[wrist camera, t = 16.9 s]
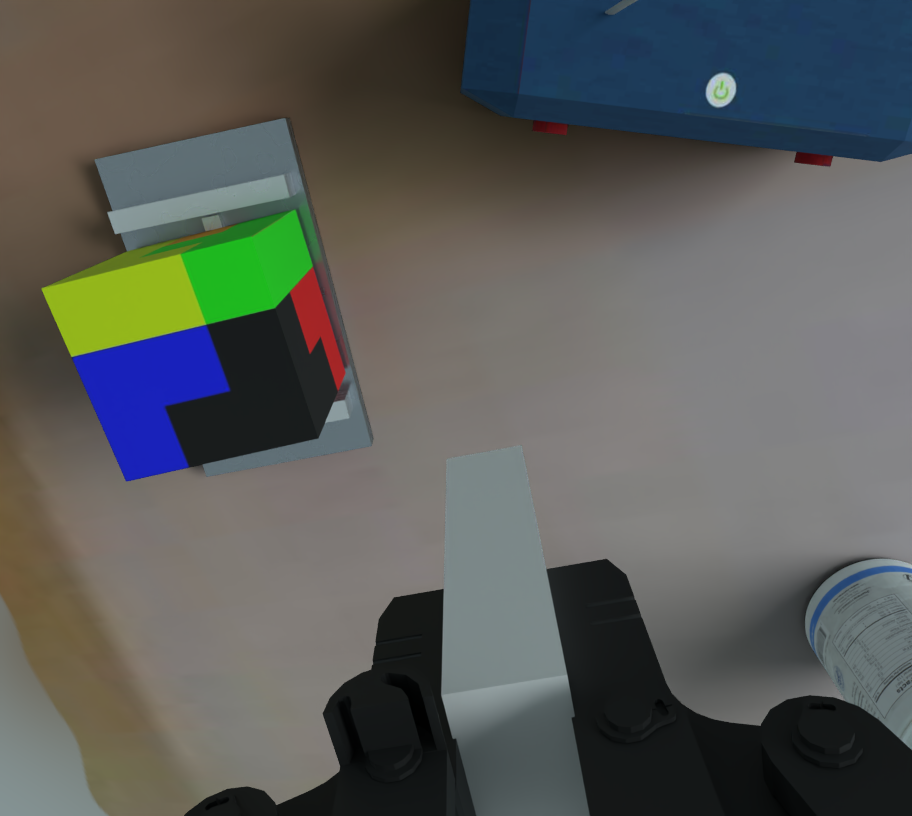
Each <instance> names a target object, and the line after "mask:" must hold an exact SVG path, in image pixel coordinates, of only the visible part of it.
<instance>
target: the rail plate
mask: <svg viewBox="0 0 912 816" xmlns="http://www.w3.org/2000/svg"><path fill="white" fill-rule="evenodd" d="M95 163H96V165H97V168H98V171H99V174H100V177H101V180H102V182H103V185H104V188H105V191H106V194H107V197H108V199H109V202H110V205H111V208H112V211H110V212H107V213H108V216H109V218H110V221H111V224H112V227H113V230H114V232H115V234H118V233H121V236H122V239H123V242H124V245H125V247H126V250H127V251H130V250H134V249H138V248H142V247H146V246H150V245H154V244H158V243H162V242H166V241H170V240H174V239H178V238H182V237H186V236H190V235H194V234H198V233H202V232H206V231H210V230H214V229H218V228H222V227H226V226H230V225H234V224H238V223H242V222H246V221H250V220H254V219H258V218H262V217H266V216H270V215H274V214H278V213H282V212H286V211H290V210H294V209H295V210H296V213H297V216H298V219H299V223H300V226H301V229H302V232H303V236H304V239H305V242H306V245H307V249H308V252H309V255H310V258H311V262H312V265H313V268H314V271H315V275H316V278H317V281H318V284H319V288H320V291H321V294H322V297H323V301H324V304H325V307H326V310H327V314H328V317H329V320H330V323H331V327H332V330H333V333H334V336H335V340H336V343H337V346H338V349H339V353H340V356H341V359H342V362H343V366H344V369H345V372H346V374H345V376H344V378H343V381H342V383H341V386H340V388H339V390H338V393H337V395H336V398H335V400H334V402H333V405H332V407H331V410H330V412H329V414H328V417H327V419H326V422H325V424H324V426H323V429H322V431H321V434H320V436H319V439H314V440H310V441H305V442H301V443H296V444H292V445H287V446H283V447H278V448H274V449H269V450H265V451H261V452H256V453H252V454H247V455H243V456H238V457H234V458H229V459H225V460H220V461H216V462H211V463H207V464H202V465H203V468H204V470H205V473H206V476H207V477H208V476H213V475H219V474H224V473H229V472H235V471H240V470H245V469H251V468H256V467H262V466H267V465H272V464H278V463H283V462H289V461H294V460H299V459H305V458H310V457H315V456H321V455H326V454H332V453H337V452H342V451H348V450H353V449H358V448H364V447H369V446H372V443H373V435H372V431H371V427H370V423H369V420H368V416H367V412H366V408H365V404H364V400H363V397H362V393H361V389H360V385H359V381H358V377H357V374H356V370H355V366H354V362H353V358H352V355H351V351H350V347H349V343H348V339H347V335H346V332H345V328H344V324H343V320H342V316H341V312H340V309H339V305H338V301H337V297H336V293H335V290H334V286H333V282H332V278H331V274H330V270H329V267H328V263H327V259H326V255H325V251H324V247H323V244H322V240H321V236H320V232H319V228H318V225H317V221H316V217H315V213H314V209H313V205H312V202H311V198H310V194H309V190H308V186H307V183H306V179H305V175H304V171H303V167H302V163H301V160H300V156H299V152H298V148H297V144H296V140H295V137H294V133H293V129H292V125H291V121H290V118H283V119H278V120H274V121H269V122H264V123H260V124H255V125H251V126H246V127H242V128H237V129H232V130H228V131H223V132H219V133H214V134H210V135H205V136H200V137H196V138H191V139H187V140H182V141H177V142H173V143H168V144H164V145H159V146H155V147H150V148H145V149H141V150H136V151H132V152H127V153H123V154H118V155H113V156H109V157H104V158H100V159H95Z"/></svg>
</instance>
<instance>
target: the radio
mask: <svg viewBox="0 0 912 816" xmlns="http://www.w3.org/2000/svg"><path fill="white" fill-rule="evenodd" d="M460 93H462V94H464V95H465V96H467V97H469V98H471V99H472V100H474V101H476V102H478V103H479V104H481V105H483V106H485V107H486V108H488V109H490V110H491V111H493V112H495V113H497V114H498V115H500V116H506V117H513V118H522V119H530V120H534V123H533V130H532V131H536V132H544V133H552V134H561V135H567V128H568V124H571V125H580V126H588V127H596V128H604V129H613V130H621V131H629V132H638V133H646V134H654V135H663V136H671V137H679V138H687V139H696V140H704V141H712V142H721V143H729V144H737V145H745V146H754V147H762V148H770V149H779V150H787V151H795V152H797V153H796V157H795V161H794V162H795V163H802V164H811V165H820V166H831V162H832V158H833V156H837V157H845V158H853V159H862V160H870V161H878V162H882V161H886V160H890V159H893V158H897V157H901V156H904V155H908V154H912V0H470V6H469V16H468V25H467V35H466V44H465V53H464V63H463V72H462V82H461V91H460Z"/></svg>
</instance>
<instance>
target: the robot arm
mask: <svg viewBox="0 0 912 816" xmlns="http://www.w3.org/2000/svg"><path fill="white" fill-rule="evenodd" d="M323 716H324V719H325V722H326V725H327V728H328V731H329V734H330V737H331V740H332V743H333V746H334V749H335V752H336V755H337V758H338V761H339V764H340V771H339V772H338V773H337V774H336V775H334V776H333V777H332V778H331V779H329V780H328V781H327V782H325V783H323V784H321V785H320V786H318V787H316V788H314V789H312V790H310V791H308V792H306V793H304V794H301V795H299V796H297V797H294V798H292V799H290V800H287V801H285V802H283V803H281V804H278V805H276V804H275V802H274V801H273V800H272V799H271V798H270V797H269V796H268V795H267V794H266V792H265V791H262V790H259V789H255V788H251V787H240V788H231V789H226V790H224V791H222V792H219V793H217V794H215V795H212V796H210V797H208V798H206V799H204V800H203V801H202V802H200V803H199V804H198V805H196V806H195V807H194V808H192V809H191V810H190V811H188V812H187V813H186V814H185V815H184V816H912V750H911V749H910V748H909V747H908V746H907V745H906V744H905V743H904V742H903V741H902V740H900V739H899V738H898V737H897V736H896V735H895V734H894V733H893V732H892V731H891V730H890V729H889V728H887V727H886V726H885V725H884V724H883V723H882V722H881V721H880V720H879V719H877V718H876V717H874V716H873V715H871V714H870V713H868V712H867V711H865V710H864V709H862V708H861V707H859V706H857V705H854V704H851V703H848V702H846V701H843V700H840V699H837V698H834V697H822V696H811V695H809V696H803V697H798V698H793V699H787V700H786V701H784V702H782V703H781V704H779V705H777V706H775V707H774V708H772V709H770V711H769V712H768V714H767V716H766V717H765V719H764V720H763V722H762V724H761V726H757V725H747V724H737V723H729V722H724V721H719V720H713V719H710V718H708V717H705V716H703V715H700V714H697V713H695V712H694V711H692V710H690V709H689V708H687V707H686V706H684V705H683V704H682V703H681V702H680V701H679V700H678V699H677V698H676V697H675V696H674V695H673V694H672V693H671V691H670V689H669V687H668V686H667V684H666V681H665V679H664V676H663V673H662V671H661V668H660V665H659V662H658V660H657V657H656V654H655V652H654V649H653V646H652V643H651V641H650V638H649V635H648V633H647V630H646V627H645V624H644V622H643V619H642V618H641V614H640V611H639V608H638V606H637V603H636V600H635V599H634V595H633V592H632V589H631V587H630V584H629V581H628V578H627V576H626V574H625V573H623V572H622V571H621V570H620V569H618V568H617V567H616V566H615V565H614V564H612V563H611V562H610V561H609V560H607V559H603V560H597V561H591V562H586V563H580V564H574V565H568V566H562V567H557V568H551V569H546V566H545V561H544V556H543V551H542V546H541V541H540V535H539V530H538V525H537V520H536V515H535V510H534V505H533V500H532V495H531V490H530V485H529V480H528V475H527V470H526V465H525V460H524V455H523V450H522V445H520V446H515V447H509V448H504V449H498V450H493V451H487V452H482V453H476V454H471V455H465V456H460V457H455V458H449V459H447V471H446V514H445V557H444V589H441V590H435V591H429V592H423V593H418V594H412V595H406V596H400V597H394V598H393V600H392V601H391V603H390V604H389V605H388V607H387V608H386V610H385V611H384V613H383V614H382V615H381V617H380V618H379V622H378V628H377V635H376V646H375V649H374V655H373V665H372V669H371V670H369V671H366V672H363V673H361V674H359V675H357V676H356V677H354V678H352V679H351V680H349V681H347V682H345V683H344V684H343V685H342V686H341V687H340V688H339V689H338V690H337V691H336V692H335V693H334V694H333V695H332V696H331V697H330V699H329V701H328V703H327V705H326V708H325V710H324V712H323Z"/></svg>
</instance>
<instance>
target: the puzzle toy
mask: <svg viewBox="0 0 912 816" xmlns="http://www.w3.org/2000/svg"><path fill="white" fill-rule="evenodd" d="M41 289H42V292H43V294H44V296H45V298H46V301H47V303H48V305H49V307H50V310H51V312H52V314H53V316H54V319H55V321H56V323H57V326H58V328H59V330H60V332H61V335H62V337H63V339H64V341H65V344H66V346H67V348H68V350H69V353H70V355H71V357H72V360H73V362H74V364H75V366H76V369H77V371H78V373H79V375H80V378H81V380H82V382H83V385H84V387H85V389H86V391H87V394H88V396H89V398H90V400H91V403H92V405H93V407H94V409H95V412H96V414H97V416H98V419H99V421H100V423H101V425H102V428H103V430H104V432H105V434H106V437H107V439H108V441H109V444H110V446H111V448H112V450H113V453H114V455H115V457H116V459H117V462H118V464H119V466H120V468H121V471H122V473H123V475H124V478H125V480H126V482H127V481H131V480H136V479H140V478H144V477H149V476H153V475H158V474H162V473H167V472H171V471H176V470H180V469H185V468H189V467H194V466H198V465H202V464H207V463H211V462H216V461H220V460H225V459H229V458H234V457H238V456H243V455H247V454H252V453H256V452H261V451H265V450H269V449H274V448H278V447H283V446H287V445H292V444H296V443H301V442H305V441H310V440H314V439H319V436H320V434H321V431H322V429H323V426H324V424H325V422H326V419H327V417H328V414H329V412H330V410H331V407H332V405H333V402H334V400H335V398H336V395H337V393H338V390H339V388H340V386H341V383H342V381H343V378H344V376H345V374H346V372H345V369H344V366H343V362H342V359H341V356H340V353H339V349H338V346H337V343H336V340H335V336H334V333H333V330H332V327H331V323H330V320H329V317H328V314H327V310H326V307H325V304H324V301H323V297H322V294H321V291H320V288H319V284H318V281H317V278H316V275H315V271H314V268H313V265H312V262H311V258H310V255H309V252H308V249H307V245H306V242H305V239H304V236H303V232H302V229H301V226H300V223H299V219H298V216H297V213H296V210H295V209H294V210H290V211H286V212H282V213H278V214H274V215H270V216H266V217H262V218H258V219H254V220H250V221H246V222H242V223H238V224H234V225H230V226H226V227H222V228H218V229H214V230H210V231H206V232H202V233H198V234H194V235H190V236H186V237H182V238H178V239H174V240H170V241H166V242H162V243H158V244H154V245H150V246H146V247H142V248H138V249H134V250H130V251H127V252H125V253H123V254H120V255H118V256H116V257H113V258H111V259H109V260H106V261H104V262H102V263H99V264H97V265H95V266H92V267H90V268H88V269H86V270H83V271H81V272H79V273H76V274H74V275H72V276H69V277H67V278H65V279H62V280H60V281H58V282H55V283H53V284H51V285H48V286H46V287H44V288H41Z"/></svg>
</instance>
